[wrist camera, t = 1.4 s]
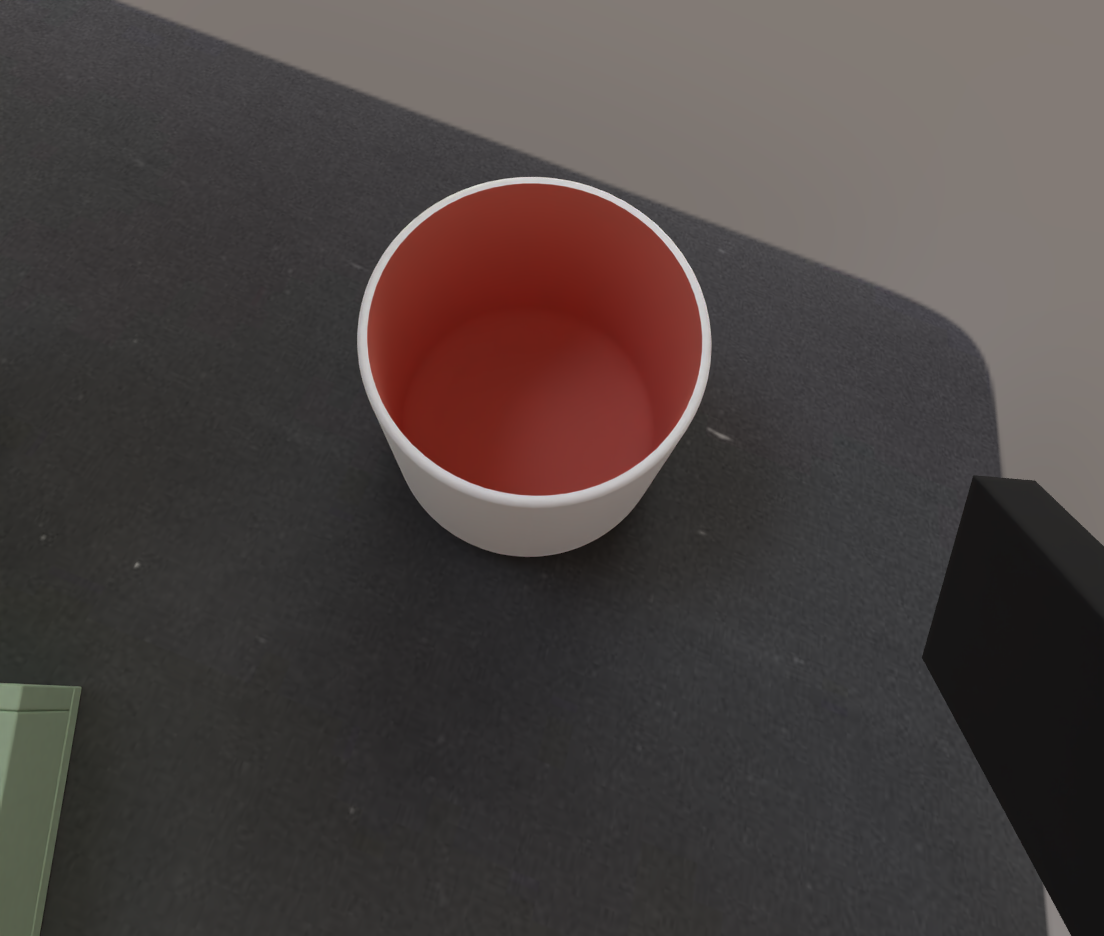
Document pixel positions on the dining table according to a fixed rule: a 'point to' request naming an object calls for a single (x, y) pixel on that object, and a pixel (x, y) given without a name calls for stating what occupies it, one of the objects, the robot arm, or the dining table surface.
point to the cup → (532, 360)
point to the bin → (31, 795)
